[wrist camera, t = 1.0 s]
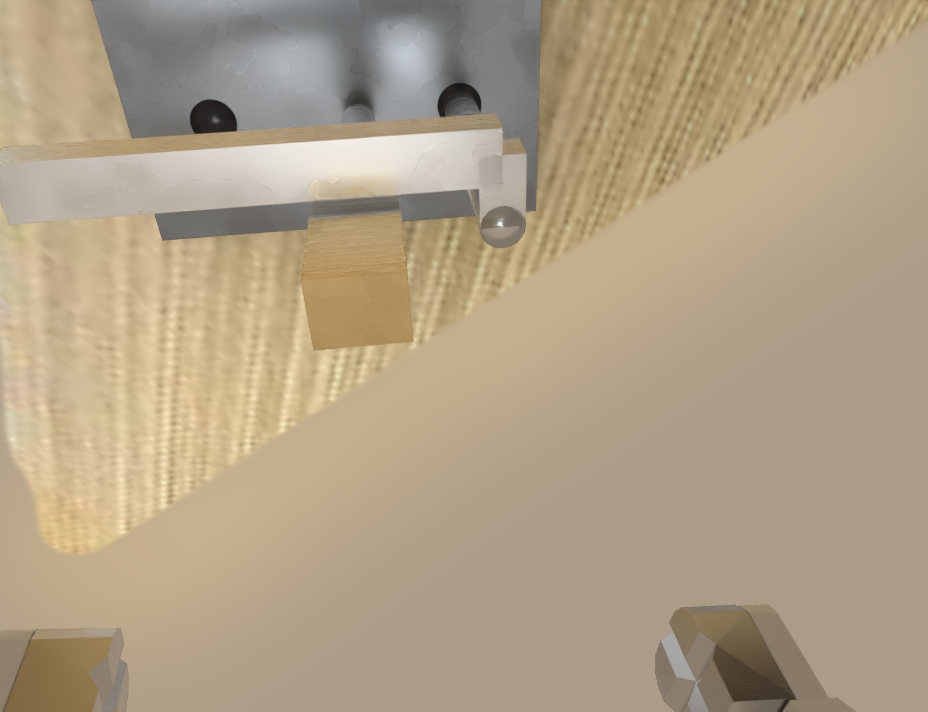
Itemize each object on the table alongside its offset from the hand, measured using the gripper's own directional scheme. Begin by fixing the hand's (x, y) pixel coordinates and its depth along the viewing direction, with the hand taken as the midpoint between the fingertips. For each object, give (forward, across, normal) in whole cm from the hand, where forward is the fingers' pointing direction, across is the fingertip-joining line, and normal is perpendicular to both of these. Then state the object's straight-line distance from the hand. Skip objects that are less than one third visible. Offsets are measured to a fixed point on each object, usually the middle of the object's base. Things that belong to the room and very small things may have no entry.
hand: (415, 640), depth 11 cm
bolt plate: (+32, 0, +1) cm, 32 cm away
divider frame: (+31, +2, 0) cm, 31 cm away
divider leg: (+30, 0, +1) cm, 30 cm away
